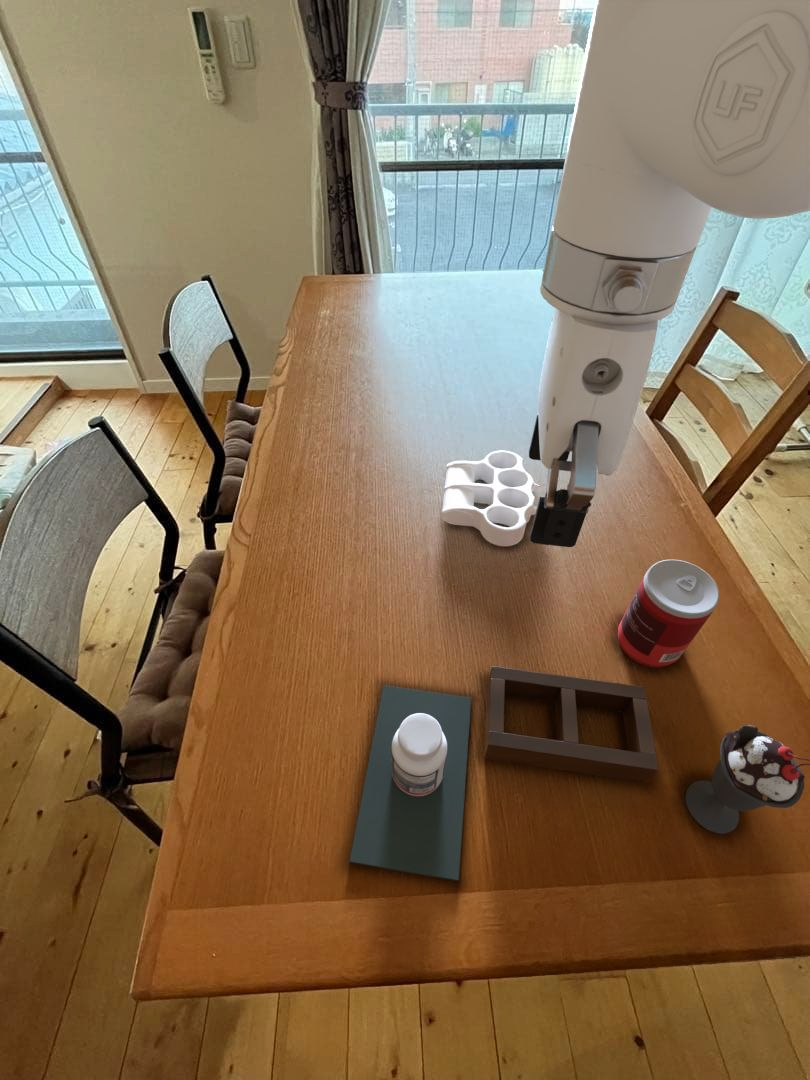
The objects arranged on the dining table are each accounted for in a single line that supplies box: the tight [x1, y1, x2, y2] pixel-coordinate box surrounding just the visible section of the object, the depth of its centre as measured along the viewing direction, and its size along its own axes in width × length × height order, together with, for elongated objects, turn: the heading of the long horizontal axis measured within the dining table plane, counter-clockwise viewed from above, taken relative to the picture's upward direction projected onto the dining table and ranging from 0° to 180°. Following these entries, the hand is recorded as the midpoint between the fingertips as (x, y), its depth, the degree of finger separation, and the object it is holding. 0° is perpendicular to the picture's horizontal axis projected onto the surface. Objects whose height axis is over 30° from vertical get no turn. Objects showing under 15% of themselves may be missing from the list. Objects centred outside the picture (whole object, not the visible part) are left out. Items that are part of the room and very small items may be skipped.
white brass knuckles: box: [441, 450, 541, 547], centre depth 83 cm, size 3×18×15 cm
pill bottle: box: [392, 713, 447, 796], centre depth 53 cm, size 5×5×9 cm
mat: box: [349, 684, 472, 882], centre depth 56 cm, size 18×10×1 cm, turn 172°
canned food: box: [617, 559, 720, 668], centre depth 64 cm, size 8×8×11 cm
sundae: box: [685, 724, 810, 834], centre depth 49 cm, size 7×7×15 cm
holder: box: [483, 665, 659, 784], centre depth 59 cm, size 9×16×4 cm, turn 82°
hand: (549, 497), depth 43 cm, fingers open, 9 cm apart
